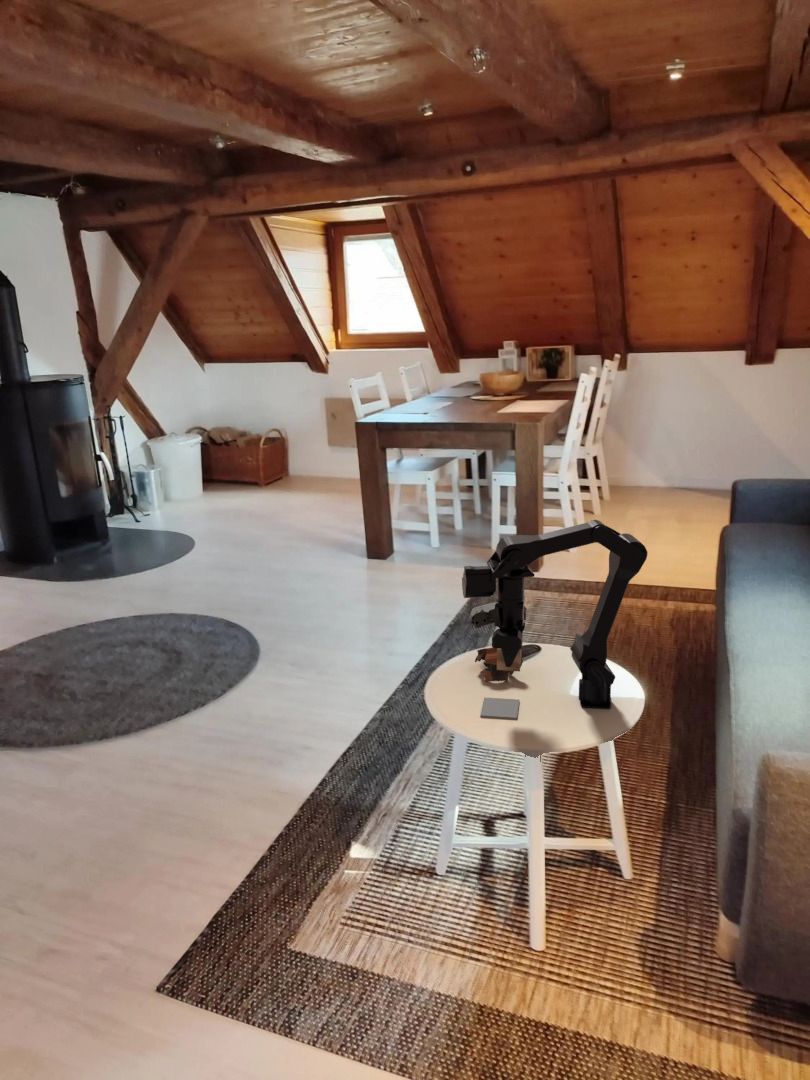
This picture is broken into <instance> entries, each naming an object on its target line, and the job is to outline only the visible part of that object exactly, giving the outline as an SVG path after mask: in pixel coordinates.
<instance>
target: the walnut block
mask: <svg viewBox="0 0 810 1080" xmlns="http://www.w3.org/2000/svg"><path fill="white" fill-rule="evenodd" d="M522 649H523V648H522ZM522 649H520V650H519V651H518V653H517V655H516V657H515V659H514V661H513V663H512V666H511V667H506V666H505V661H504V657H503V653H502V650H501V649H498V648H497V670H506V671H514V672H521V667H522V666H521V657H522Z"/></svg>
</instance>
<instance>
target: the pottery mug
mask: <svg viewBox="0 0 810 1080" xmlns="http://www.w3.org/2000/svg"><path fill="white" fill-rule="evenodd" d="M481 661H484V662H485V663H486V664H487V665H488V667H489V670H490V671H488V672H483V678H484V681H485V682H486V683H490V682H505V681H508V680H509V675H510V676H513V674H514V673H515V671H506V670H497V648H493V647H492V646H491V647H487V648H485V647H484V648H481V649H478V650H477V655H476V657H475V660H474V662H475V663H477V662H481ZM523 663H524V661H523V657H522V656H521V667H522V665H523Z"/></svg>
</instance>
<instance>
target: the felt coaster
mask: <svg viewBox="0 0 810 1080" xmlns="http://www.w3.org/2000/svg"><path fill="white" fill-rule="evenodd" d="M519 706H520V699H515V698H502V697H501V698H498V697H485V696H484V697H483V701H482V706H481V709H480V710H481V711H480V718H492V719H493V718H494V719H504V720H507V719H508V720H518V716H519V715H518V714H519V708H520V707H519Z"/></svg>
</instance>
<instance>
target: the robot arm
mask: <svg viewBox="0 0 810 1080" xmlns="http://www.w3.org/2000/svg"><path fill="white" fill-rule="evenodd" d="M595 543H597V544H599V545H601V546H603V547H604V548H606V549H607V550H609V554H608V574H607V577H606V579H605V582H604V585H603V587H602V590H601V593H600V595H599V598H598V601H597V604H596V607H595V609H594V612H593V615H592V616H591V620H590V622H589V625H588V628H587V630H586V631H585V632H584V633H583V634H578V633H576V634H575V636H574V641H573V644H572V645H571V647H569V649H570V651H571V658H572V660H573V662H574V663H575V665H576V667H577V668H578V670H579V672H580V673H581V678H580V679H579V680H578V700H579V701H580V707H582V708H592V709H593V708H595V709H607V710H608V709H609V710H610V709H612V703H611V702H612V700H611V696H612V695H611V693H612V692H611V691H612V685H613V684H614V682H615V679H616V675H615V674H614V672H613V671H612V670H611V668H610V667H609V665H608V663H607V660H608V659H607V658H608V640H609V636H610V634H611V630H612V628H613V625H614V623H615V620H616V619H617V615H618V613H619V612H618V611H619V610H620V606H621V604H622V602H623V599H624V596H625V594H626V591H627V588H628V586H629V583H630V581H631V580H632V579H633V578H635V576H636V575H637V574H638V573H639V572H640V571H641V569H642V567H643V566H644V564H645V562H646V561H647V557H648V550H647V548H646V545H644V543H642V542H641V541H639V540H638V539H637V538H636V537H635V536H634V535H633V534H631V533H620V532H618V531H617V530H615V529H613V528H612V527H609V526H608V525H605V524H604V523H603V522H602V521H600V520H598V519H591V520H590V521H588V522H584V523H580V524H576V525H573V526H569V527H565V528H560V529H557V530H553V531H549V532H544V533H540V534H535V535H532V534H531V535H530V534H528V535H527V534H516V535H515V534H513V535H506V536H504V537H502V538H500V539H499V540H498V542H497V544H496V547H495V548H496V550H495V551H494V552H493V553H492V555H491V556H490V557H489V559H488V560H487V561H486V565H481V566H480V565H479V566H476V565H475V566H474V565H464V567H463V568H464V569H463V574H462V577H461V587H462V588H461V590H462V597H463V599H476V598H491V597H492V596H494V593H496V592H497V593H496V595H497V596H496V600H495V602H490V603H486V604H482V605H478V606H475V607H473V608H472V609H471V611H470V613H469V614H470V617H471V624H472V625H473V626H474V628H475V629H479V628H481V627H484V626H487V625H491V624H494V625H493V626H494V627H498V628H497V629H495V631H493V634H492V637H491V648H492V647H493V648H498V649H501V650H502V653H503V657H504V661H505V666H506V667H511V666H512V663H513V661H514V659H515V657H516V655H517V653H518V651H519V650H520V649H523V640H524V639H523V637H524V635H523V634H524V630H525V628H526V623H525V621H526V620H527V611H528V610H527V607H526V606H525V598H526V597H525V584H526V583H525V580H526V579H525V578H534V577H535V573H534V571H533V570H532V569H531V568H530V567H529V566H528V565H532V564H534V562H536V561H537V560H539V559H541V558H542V557H544V556H547V555H551V554H556V553H560V552H564V551H568V550H571V549H576V548H579V547H583V546H588V545H591V544H595ZM496 590H497V591H496Z"/></svg>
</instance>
